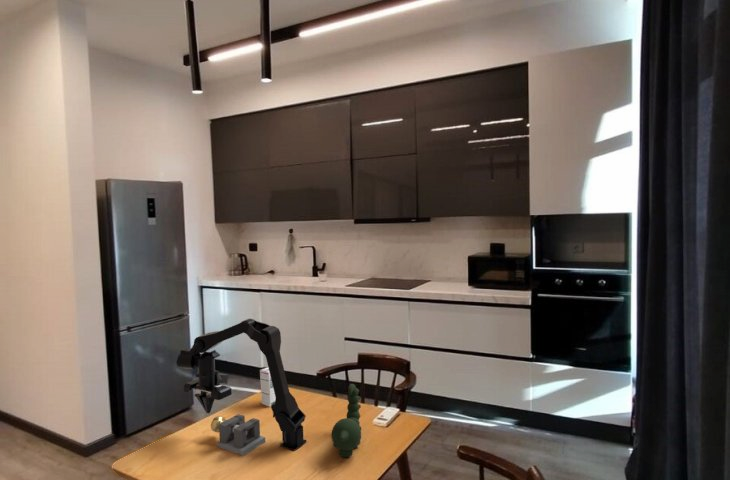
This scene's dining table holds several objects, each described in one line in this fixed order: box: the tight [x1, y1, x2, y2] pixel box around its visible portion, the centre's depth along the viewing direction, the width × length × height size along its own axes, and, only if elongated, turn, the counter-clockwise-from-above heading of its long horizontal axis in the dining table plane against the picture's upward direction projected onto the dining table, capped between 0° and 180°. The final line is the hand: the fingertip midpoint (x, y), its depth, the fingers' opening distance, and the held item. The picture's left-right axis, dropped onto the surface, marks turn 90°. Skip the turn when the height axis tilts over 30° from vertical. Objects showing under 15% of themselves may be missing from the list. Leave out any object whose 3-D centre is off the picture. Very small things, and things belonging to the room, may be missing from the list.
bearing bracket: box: [217, 413, 266, 457], centre depth 144 cm, size 12×10×8 cm
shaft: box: [210, 415, 251, 438], centre depth 146 cm, size 15×5×5 cm, turn 60°
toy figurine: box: [331, 383, 362, 458], centre depth 141 cm, size 9×19×25 cm
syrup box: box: [259, 367, 276, 408], centre depth 177 cm, size 6×6×14 cm
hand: (208, 412), depth 152 cm, fingers closed
